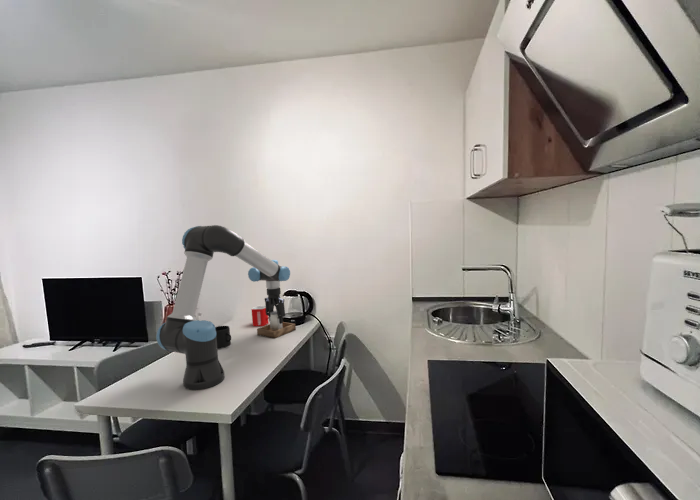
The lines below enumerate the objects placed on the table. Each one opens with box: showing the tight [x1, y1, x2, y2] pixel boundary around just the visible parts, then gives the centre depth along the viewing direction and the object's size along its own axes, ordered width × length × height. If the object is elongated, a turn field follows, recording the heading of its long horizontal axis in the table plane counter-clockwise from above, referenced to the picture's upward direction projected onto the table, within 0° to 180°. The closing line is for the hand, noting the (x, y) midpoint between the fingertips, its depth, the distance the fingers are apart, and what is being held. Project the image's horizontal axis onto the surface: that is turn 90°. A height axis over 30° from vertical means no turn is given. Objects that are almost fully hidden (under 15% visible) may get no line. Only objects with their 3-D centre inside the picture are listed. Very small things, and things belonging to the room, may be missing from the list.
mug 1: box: [215, 325, 232, 349], centre depth 180 cm, size 9×12×9 cm
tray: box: [256, 321, 297, 339], centre depth 198 cm, size 16×14×4 cm
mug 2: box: [250, 305, 269, 327], centre depth 215 cm, size 12×8×11 cm
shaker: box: [270, 310, 281, 330], centre depth 197 cm, size 6×6×10 cm
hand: (276, 328), depth 198 cm, fingers closed on shaker, 6 cm apart
